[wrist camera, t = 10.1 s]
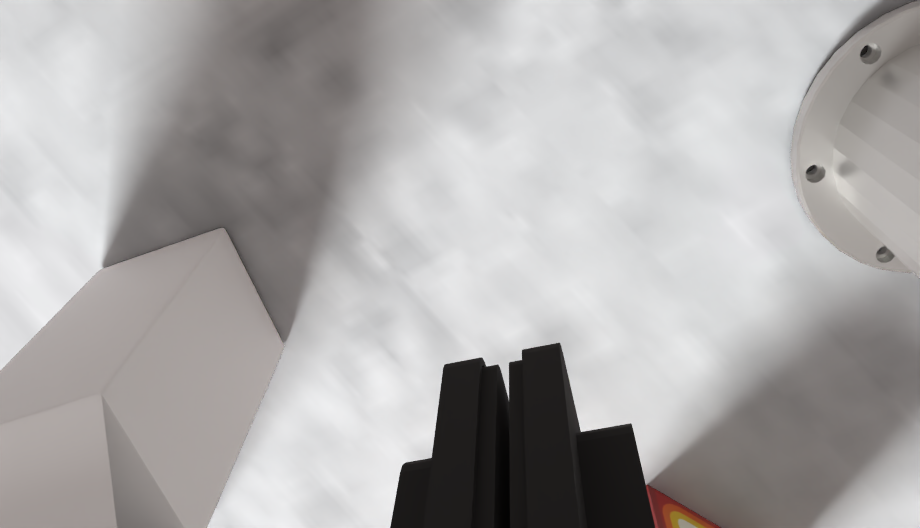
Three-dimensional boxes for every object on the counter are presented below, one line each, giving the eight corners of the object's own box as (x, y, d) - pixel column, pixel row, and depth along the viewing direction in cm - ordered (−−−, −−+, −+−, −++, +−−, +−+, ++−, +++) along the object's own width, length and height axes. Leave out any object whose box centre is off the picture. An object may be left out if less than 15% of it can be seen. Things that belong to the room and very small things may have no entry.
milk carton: (98, 268, 44) (-161, 530, 26) (226, 224, 42) (43, 468, 25) (165, 384, 46) (-29, 690, 29) (287, 345, 45) (160, 641, 28)
